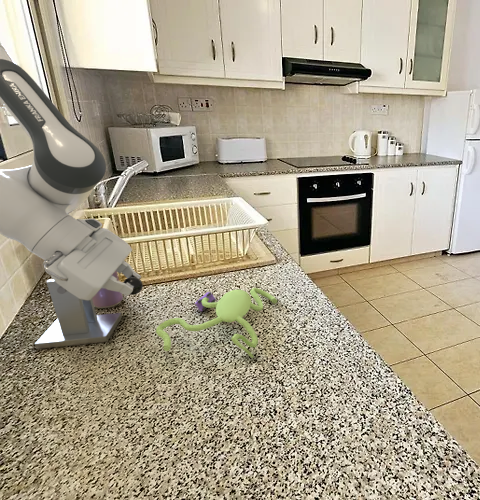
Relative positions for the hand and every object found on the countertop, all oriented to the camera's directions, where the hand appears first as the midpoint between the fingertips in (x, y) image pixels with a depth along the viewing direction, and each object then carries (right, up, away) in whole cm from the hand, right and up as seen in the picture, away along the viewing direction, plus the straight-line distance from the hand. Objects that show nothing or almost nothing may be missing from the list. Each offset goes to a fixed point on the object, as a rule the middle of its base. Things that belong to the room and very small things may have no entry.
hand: (135, 286), depth 75 cm
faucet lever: (-6, -1, -1) cm, 6 cm away
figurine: (+17, -9, +4) cm, 20 cm away
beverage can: (-13, -5, +12) cm, 18 cm away
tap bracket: (-11, -9, +1) cm, 15 cm away
